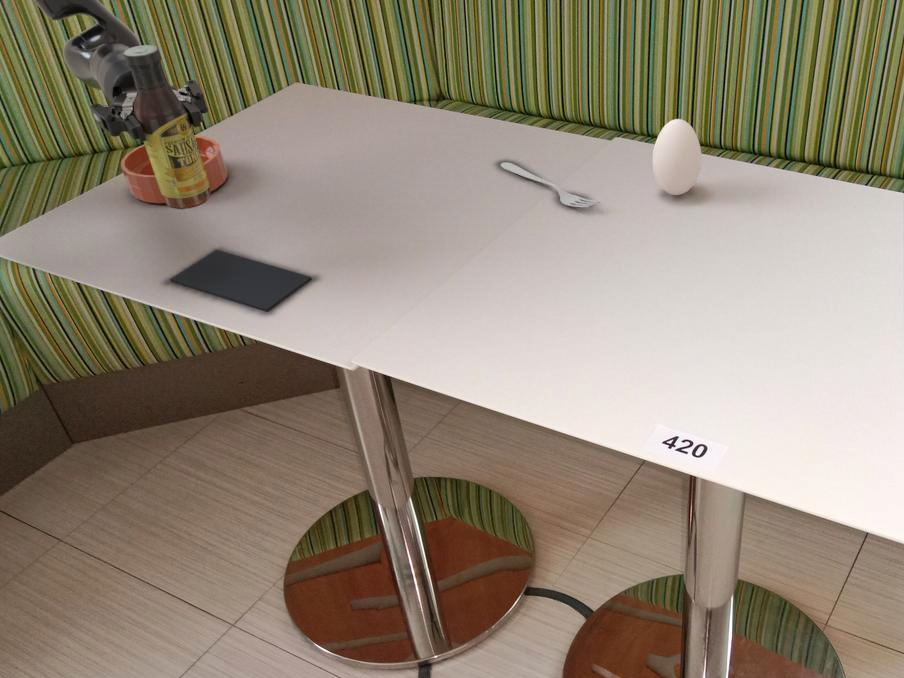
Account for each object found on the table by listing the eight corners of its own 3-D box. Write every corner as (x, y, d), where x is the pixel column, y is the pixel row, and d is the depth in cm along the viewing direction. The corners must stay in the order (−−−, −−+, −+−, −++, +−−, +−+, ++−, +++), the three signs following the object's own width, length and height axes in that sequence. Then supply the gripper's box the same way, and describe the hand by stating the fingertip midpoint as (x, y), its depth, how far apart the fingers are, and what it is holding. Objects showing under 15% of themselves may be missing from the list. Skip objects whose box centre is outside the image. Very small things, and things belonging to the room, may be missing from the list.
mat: (170, 282, 136) (169, 279, 136) (217, 252, 142) (216, 249, 141) (267, 312, 129) (266, 309, 129) (312, 279, 135) (311, 276, 135)
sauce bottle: (192, 215, 128) (138, 64, 114) (155, 207, 130) (98, 57, 116) (224, 192, 132) (176, 44, 119) (188, 185, 134) (137, 38, 121)
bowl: (132, 213, 152) (120, 183, 149) (132, 173, 163) (121, 145, 159) (231, 195, 156) (222, 165, 152) (225, 157, 166) (216, 129, 163)
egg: (709, 195, 150) (713, 121, 142) (671, 209, 147) (672, 134, 139) (681, 178, 154) (682, 105, 147) (643, 191, 152) (642, 118, 144)
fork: (510, 160, 161) (508, 150, 160) (603, 211, 147) (603, 200, 146) (494, 166, 160) (493, 156, 159) (587, 218, 146) (586, 207, 145)
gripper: (67, 71, 127) (99, 112, 117) (176, 46, 133) (216, 83, 122) (89, 126, 132) (121, 170, 122) (193, 99, 138) (233, 139, 127)
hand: (169, 126), depth 122 cm, fingers closed on sauce bottle, 6 cm apart
